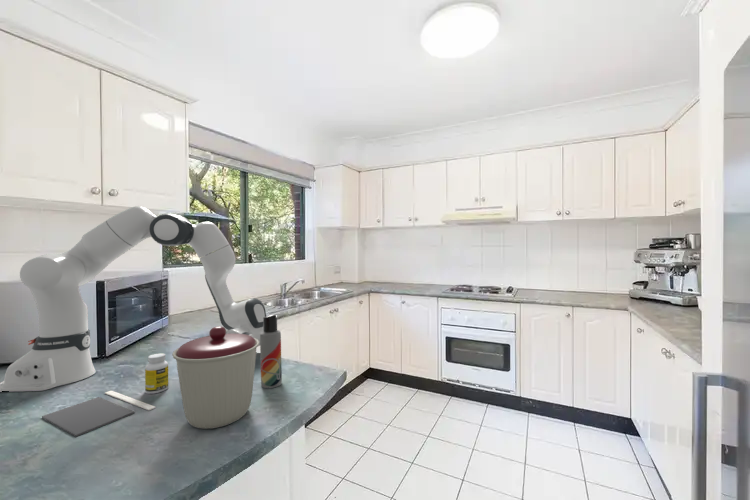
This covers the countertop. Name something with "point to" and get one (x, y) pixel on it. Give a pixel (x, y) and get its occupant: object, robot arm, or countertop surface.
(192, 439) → the countertop surface
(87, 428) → the mat
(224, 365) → the canister
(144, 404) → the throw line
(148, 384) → the supplement bottle
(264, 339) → the lotion bottle
